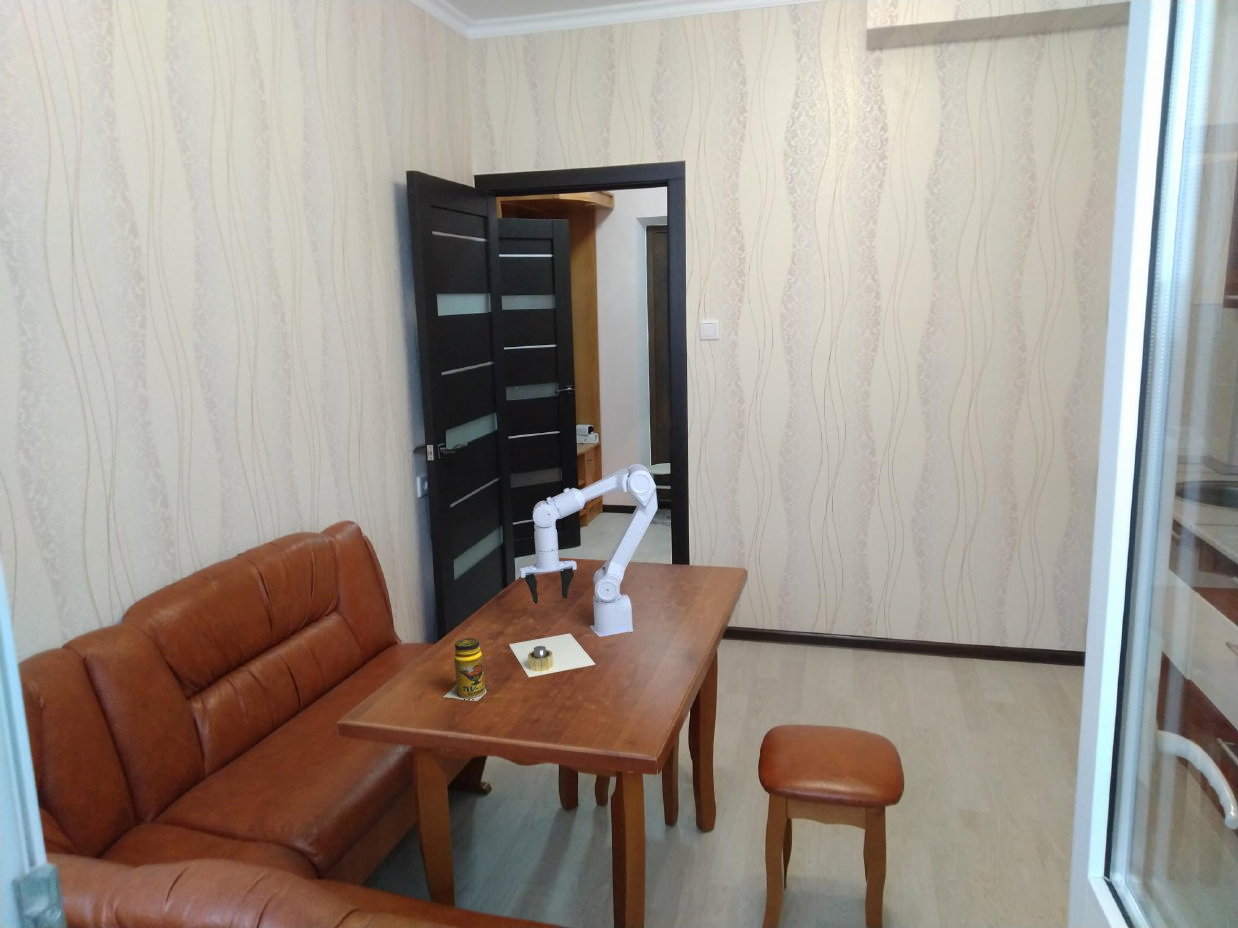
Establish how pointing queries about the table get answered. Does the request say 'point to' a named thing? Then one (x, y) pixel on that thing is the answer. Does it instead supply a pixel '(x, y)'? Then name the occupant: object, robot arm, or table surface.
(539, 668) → the ring
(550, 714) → the table surface
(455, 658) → the condiment
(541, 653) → the piston
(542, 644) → the mat
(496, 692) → the table surface
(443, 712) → the table surface
